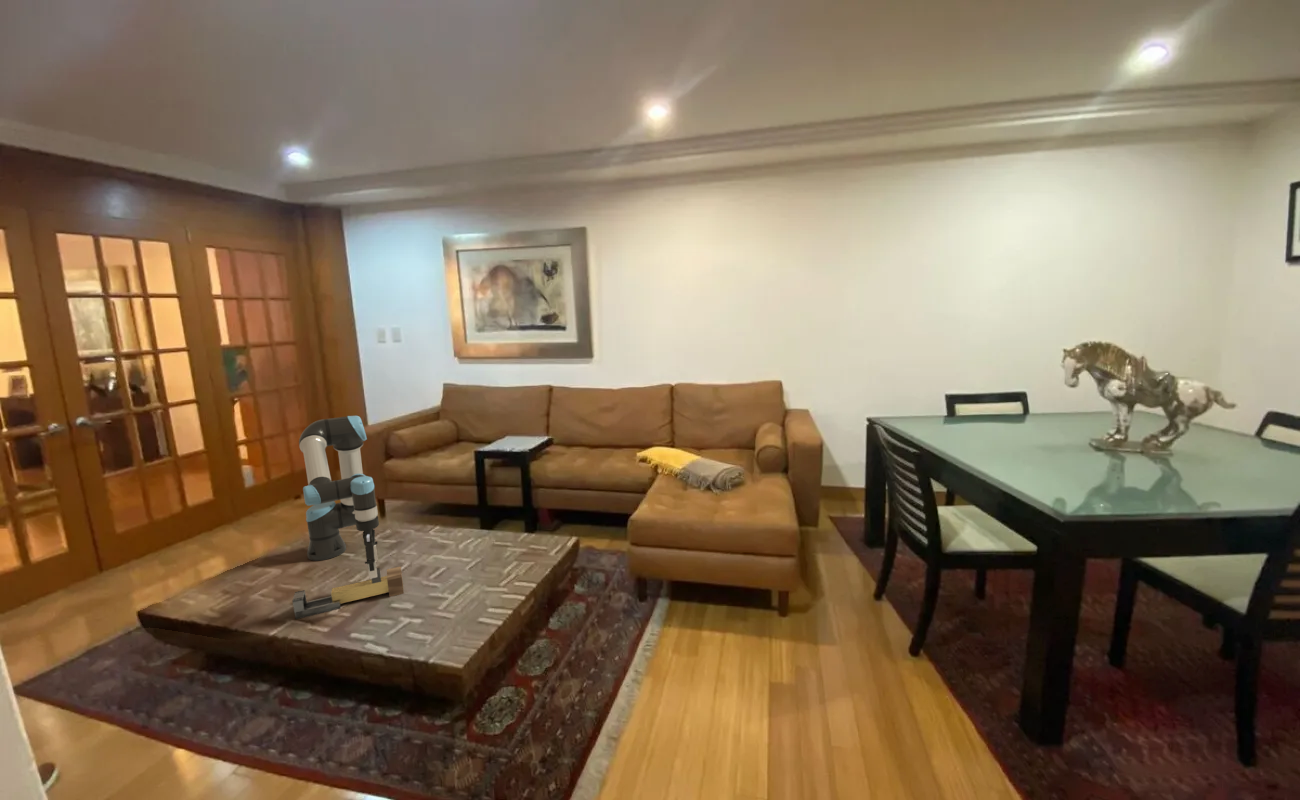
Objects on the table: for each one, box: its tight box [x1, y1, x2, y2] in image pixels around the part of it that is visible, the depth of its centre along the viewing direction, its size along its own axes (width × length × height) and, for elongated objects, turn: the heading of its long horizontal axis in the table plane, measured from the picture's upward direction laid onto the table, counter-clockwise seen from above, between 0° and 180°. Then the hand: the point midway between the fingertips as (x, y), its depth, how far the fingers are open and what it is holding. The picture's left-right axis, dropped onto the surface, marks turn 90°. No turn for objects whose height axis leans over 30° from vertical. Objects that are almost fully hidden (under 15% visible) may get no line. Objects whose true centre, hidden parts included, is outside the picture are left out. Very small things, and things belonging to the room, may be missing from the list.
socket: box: [386, 565, 405, 598], centre depth 205 cm, size 7×5×8 cm
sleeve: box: [291, 589, 342, 620], centre depth 194 cm, size 6×14×7 cm, turn 116°
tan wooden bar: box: [330, 567, 389, 605], centre depth 200 cm, size 4×22×9 cm, turn 116°
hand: (373, 569), depth 201 cm, fingers open, 13 cm apart
